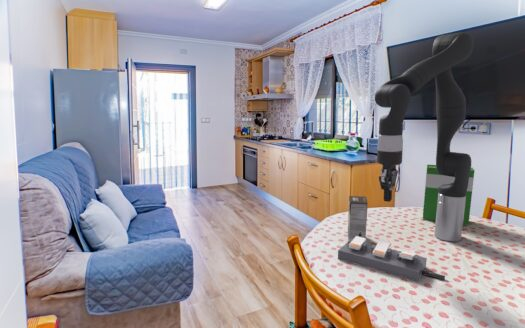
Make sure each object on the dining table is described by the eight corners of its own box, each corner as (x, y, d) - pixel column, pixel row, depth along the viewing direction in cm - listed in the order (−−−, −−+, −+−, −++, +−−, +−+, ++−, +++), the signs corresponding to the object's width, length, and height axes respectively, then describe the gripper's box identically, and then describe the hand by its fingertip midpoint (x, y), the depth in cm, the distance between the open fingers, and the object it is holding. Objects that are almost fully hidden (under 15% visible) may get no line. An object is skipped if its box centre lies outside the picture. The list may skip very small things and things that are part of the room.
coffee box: (347, 234, 133) (348, 195, 130) (363, 235, 132) (365, 196, 129) (348, 243, 124) (350, 201, 121) (366, 244, 123) (368, 202, 120)
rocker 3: (404, 254, 107) (404, 250, 107) (416, 257, 105) (416, 253, 105) (398, 256, 101) (399, 253, 101) (411, 259, 99) (412, 256, 99)
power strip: (350, 247, 120) (350, 234, 119) (447, 272, 102) (448, 257, 102) (337, 258, 112) (338, 244, 111) (441, 288, 94) (443, 271, 93)
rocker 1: (356, 238, 116) (356, 235, 116) (366, 241, 114) (366, 238, 114) (348, 247, 111) (348, 244, 111) (359, 250, 109) (359, 247, 109)
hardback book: (422, 219, 150) (427, 167, 146) (422, 214, 157) (427, 164, 153) (468, 225, 143) (474, 170, 138) (466, 220, 149) (472, 167, 145)
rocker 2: (379, 242, 112) (379, 240, 111) (390, 245, 110) (390, 242, 109) (372, 254, 107) (372, 251, 106) (384, 257, 104) (384, 254, 104)
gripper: (396, 152, 99) (393, 208, 102) (407, 146, 109) (404, 197, 113) (371, 150, 103) (369, 204, 107) (384, 145, 114) (382, 194, 117)
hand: (387, 200), depth 110 cm, fingers closed
